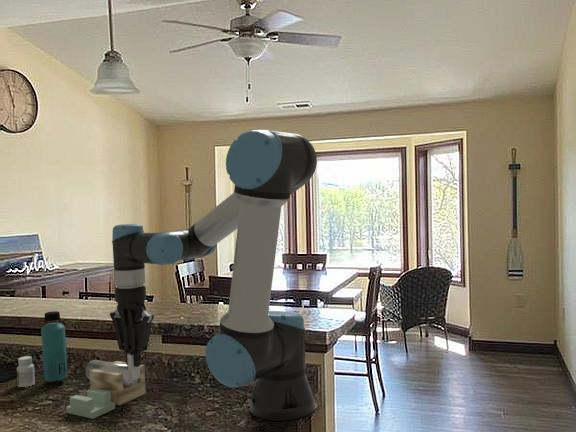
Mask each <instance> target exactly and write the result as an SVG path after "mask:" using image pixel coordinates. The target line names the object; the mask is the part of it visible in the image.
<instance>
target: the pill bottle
mask: <svg viewBox="0 0 576 432" xmlns="http://www.w3.org/2000/svg"><path fill="white" fill-rule="evenodd" d="M32 358H33V357H32V356H29V355H25V356H21V357H18V358H17V360H18V363H17V364H18V366H16V377H17V378H16V381H17V387H18V388H20V387H25V388H30V387H33V386H34V385H35V384H36V379H35V377H36V376H35V375H36V374H35V365H34V364H33V359H32ZM32 385H33V386H32ZM29 386H30V387H29Z"/></svg>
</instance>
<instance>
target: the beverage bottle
mask: <svg viewBox="0 0 576 432" xmlns="http://www.w3.org/2000/svg"><path fill="white" fill-rule="evenodd" d="M43 320H44V321H45V322H50V323H46V324H45V325H43V326H42V327H41V329H40V333H41V348H42V351H41V352H42V360H41V361H42V370H43V373H42V374H43V378H44V380H45V381H48V382H55V381H60V380H64V379H65V378H68V374H69V372H68V370H69V369H68V368H69V366H68V358H67V357H68V355H67V339H66V326H65V325H64V324H62V323H61V322H55V321H59V320H61V315H60V311H56V310H53V311H48V312H45V313H44V318H43ZM53 321H54V322H53Z"/></svg>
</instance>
